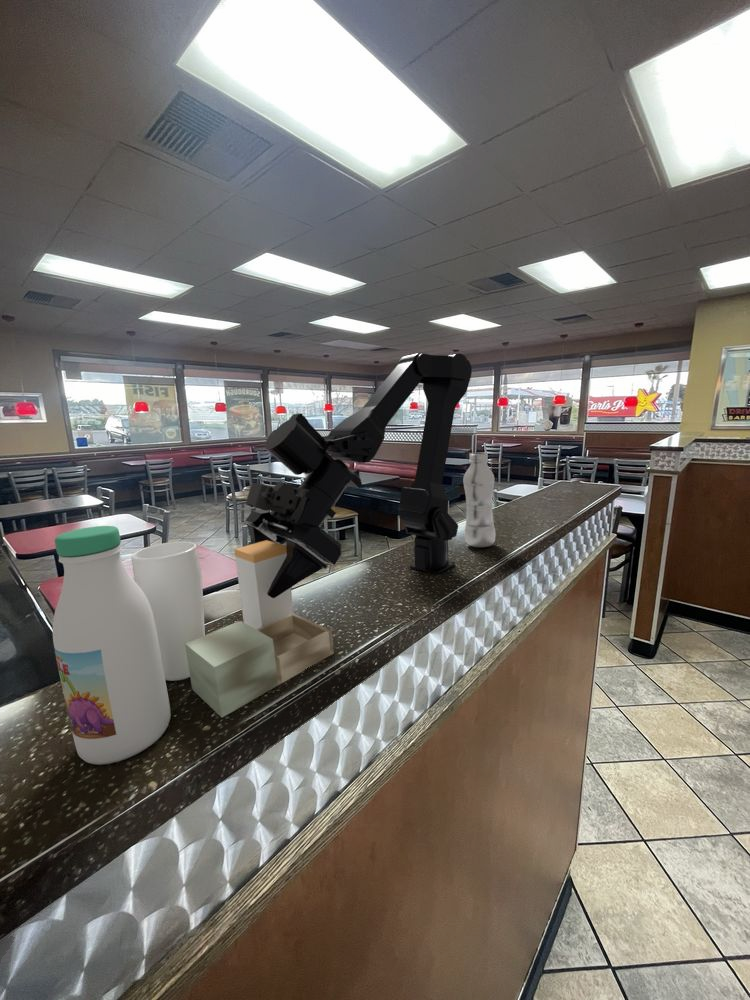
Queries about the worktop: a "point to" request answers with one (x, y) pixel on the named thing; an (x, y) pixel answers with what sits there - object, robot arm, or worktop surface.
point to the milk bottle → (107, 650)
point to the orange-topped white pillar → (261, 583)
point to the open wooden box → (253, 659)
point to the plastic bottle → (479, 502)
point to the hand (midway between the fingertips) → (255, 586)
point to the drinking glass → (172, 599)
